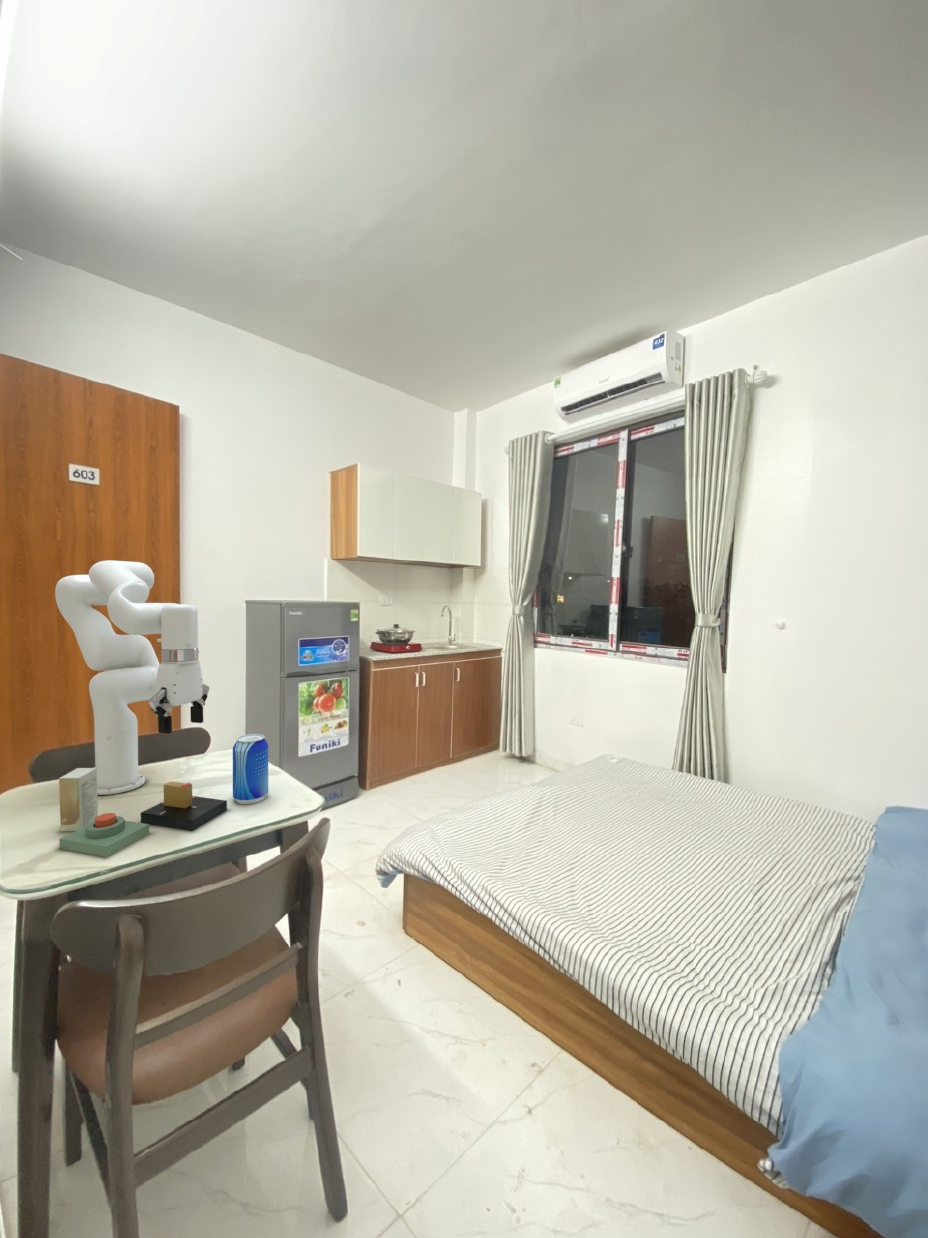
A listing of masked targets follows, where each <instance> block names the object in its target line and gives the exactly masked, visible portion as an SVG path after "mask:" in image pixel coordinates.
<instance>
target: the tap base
mask: <svg viewBox="0 0 928 1238" xmlns="http://www.w3.org/2000/svg"><path fill="white" fill-rule="evenodd" d="M227 811H228V800H225V799H218V798H211V797H205V796H198V795H192V805H191V806H189V807H187V808H178V807H171V806H164V801H159V803H157V804H156V805H153V806H151V807H150V808H147V809H145V810H144V811H141V812H140V823H144V824H149V826H156V827H162V828H163V827H165V828H170V829H177V830H183V831H189V832H193V831H194V832H195V830H198V828H200V827H202V826H204V825H205V824H207V823H209V822H211V821H212V820H213V819H216V818H217V817H218V816H220V815H222V814H223V813H225V812H227Z"/></svg>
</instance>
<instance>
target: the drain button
mask: <svg viewBox="0 0 928 1238" xmlns="http://www.w3.org/2000/svg"><path fill="white" fill-rule="evenodd" d="M116 816H117V815H116V813H115V812H106V813H102V814H100V815H99V814H98V816H97V817H96V818H95V827H96V828H102V827H107V826H111V825H113V824H115V823H116Z"/></svg>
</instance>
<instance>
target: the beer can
mask: <svg viewBox="0 0 928 1238" xmlns="http://www.w3.org/2000/svg"><path fill="white" fill-rule="evenodd" d="M268 793H269V743H268V741H267V740H266V738H265V735H264V734H260V733H247V734H243V735H240V736H238V737H236V741H235V743H234V744H233V747H232V798H233V799H234V800H235V802H236V803H237V804H240V805H252V804H256V803H259V802H262V801H263V800H265V798H266V796H267V795H268Z"/></svg>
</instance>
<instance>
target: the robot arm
mask: <svg viewBox="0 0 928 1238" xmlns="http://www.w3.org/2000/svg"><path fill="white" fill-rule="evenodd" d="M154 583H155V574H154V572H153V570H152V568H151V567H150V566H149V565H147V564H146V563H144V562H140V561H127V560H114V559H113V560H112V559H111V560H110V559H109V560H108V559H107V560H101V561H98V562H96V563H94V564H93V565H92V566H91V567H90V569H89V570H88V574H72V575H67V576H64V577H62V578H61V579H59V580H58V582H57V583H56V585H55V587H54V596H55V602H56V605H57V609H58V610H59V612H60V614H61V616H63V618H64V620H65V621H66V623H67V624H68V625H69V626H70V628H71V630H72V631H73V633H74V636H75V639H76V641H77V644H78V647H79V649H80V653H81V654H82V657H83V660H84V662H85V664H86V666H87V667H88V668H89V669H90V670H92V671H99V673H97V674H95V675H94V676H93V677H92V678H91V679H90V681H89V683H88V693H89V697H90V701H91V705H92V710H93V711H92V712H93V724H94V726H93V728H94V730H93V731H94V767H93V768H97V796H107V795H108V796H109V795H115V794H123V793H124V792H129V791H132V790H135V789H137V788H139V787H141V786H143V785H144V783H145V782H146V776H145V775H143V774H140V773H139V722H138V717H137V715H136V714H135V713H134V712H133V711H132V709H130V708H129V706H128V705H129V704H133V703H139V702H145V701H147V703H148V704H149V706H150V709H151V711H152V712H153V713H154V715H155V716H156V717H157V732H158V733H159V734H168V735H169V734H171V733H172V732H173V718H172V717H173V716H172V715H171V713H172V711H173V709H174V708H175V707H178V706H182V705H187V704H191V705H190V707H189V708H190V711H189V713H190V722H191V723H193V724H194V723H195V724H202V723H204V707H205V705H206V701H207V699H208V694H209V693H210V692H209V691H210V686H209V685H207V684H205V683H204V682H203V672H202V667H201V663H200V660H199V653H200V650H199V622H198V621H199V620H198V619H199V614H198V608H197V607H196V605H193V604H188V603H175V602H146V601H147V600H148V598H149V595H150V590H152V589H153V586H154ZM92 606H106V609H107V614H108V618H109V619H108V618H107V617H106V616H105V615H104V614H103V613H101V612H100V611H99V610H97V609H95V608H93V607H92ZM112 624H114V625H115V626H116V627H117V628H118V629H119V630H121V631H122V632H123V633H126V634H118V633H116V632H115V630H114V628H113V625H112ZM143 635H161V663H160V662H159V659H158V657H157V655H156V654H157V653H156V652H155V649H154V647H153V646H152V643H151V642H150V640H149V639H148V638H146V637H145V636H143ZM100 671H101V672H100Z"/></svg>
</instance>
